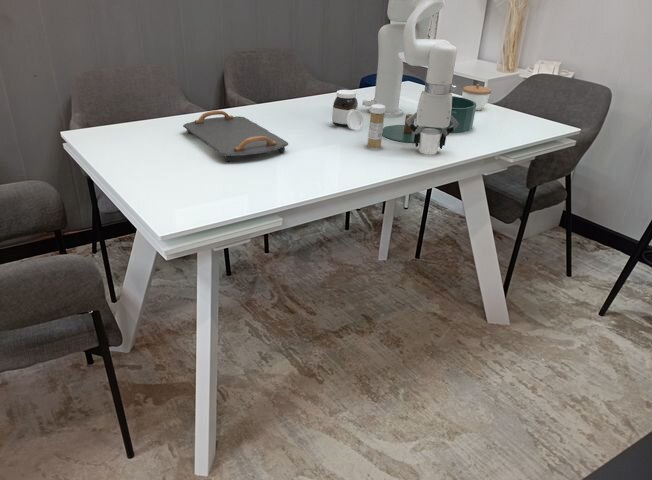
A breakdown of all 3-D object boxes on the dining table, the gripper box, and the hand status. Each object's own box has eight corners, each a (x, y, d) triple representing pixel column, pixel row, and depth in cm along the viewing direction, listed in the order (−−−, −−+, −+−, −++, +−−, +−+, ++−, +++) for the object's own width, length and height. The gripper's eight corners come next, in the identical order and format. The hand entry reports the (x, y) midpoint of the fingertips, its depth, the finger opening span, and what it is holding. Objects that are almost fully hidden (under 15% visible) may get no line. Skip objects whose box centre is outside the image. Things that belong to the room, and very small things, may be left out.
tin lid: (379, 142, 181) (381, 121, 178) (380, 126, 197) (383, 106, 193) (436, 146, 179) (440, 125, 175) (433, 129, 195) (436, 109, 191)
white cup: (440, 156, 171) (444, 134, 167) (418, 156, 171) (421, 134, 167) (436, 149, 177) (439, 128, 173) (414, 148, 177) (418, 127, 173)
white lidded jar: (454, 105, 224) (459, 81, 219) (478, 104, 227) (482, 81, 222) (468, 112, 215) (472, 88, 211) (492, 111, 218) (497, 87, 213)
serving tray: (179, 130, 187) (177, 112, 184) (240, 121, 197) (239, 104, 194) (226, 167, 159) (226, 146, 155) (295, 154, 169) (295, 135, 166)
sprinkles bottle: (375, 144, 179) (380, 103, 172) (383, 149, 176) (388, 106, 169) (364, 146, 178) (368, 104, 171) (371, 150, 174) (376, 108, 167)
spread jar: (339, 120, 202) (341, 87, 196) (368, 124, 198) (371, 91, 192) (326, 128, 193) (328, 94, 187) (357, 133, 189) (360, 99, 183)
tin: (422, 134, 190) (426, 108, 185) (420, 116, 209) (423, 92, 204) (474, 138, 187) (480, 112, 183) (467, 119, 207) (472, 95, 202)
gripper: (466, 87, 166) (455, 144, 175) (407, 84, 168) (400, 140, 177) (468, 93, 159) (457, 152, 169) (408, 89, 161) (400, 148, 171)
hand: (428, 146), depth 173 cm, fingers closed on white cup, 6 cm apart
